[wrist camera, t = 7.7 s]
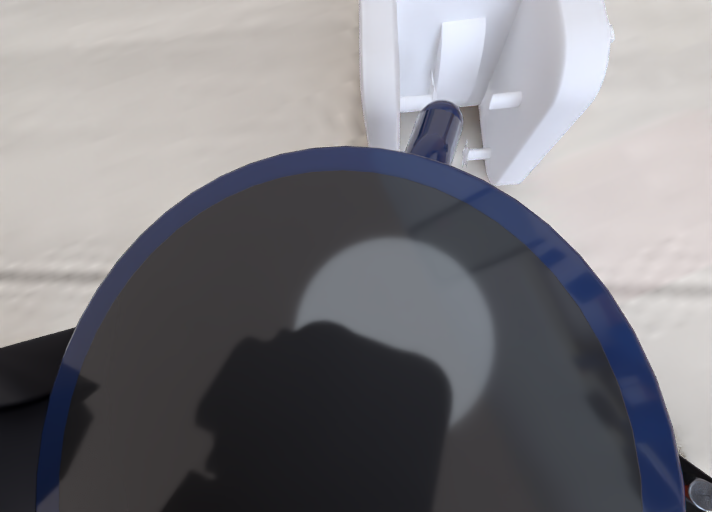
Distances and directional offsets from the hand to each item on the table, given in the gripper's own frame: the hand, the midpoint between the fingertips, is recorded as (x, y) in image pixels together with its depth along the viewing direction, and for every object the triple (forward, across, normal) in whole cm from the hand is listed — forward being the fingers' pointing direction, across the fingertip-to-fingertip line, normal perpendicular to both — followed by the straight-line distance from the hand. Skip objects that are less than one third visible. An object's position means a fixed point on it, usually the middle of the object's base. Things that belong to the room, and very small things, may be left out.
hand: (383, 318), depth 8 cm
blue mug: (+4, 0, +4) cm, 6 cm away
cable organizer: (+21, +2, -2) cm, 22 cm away
